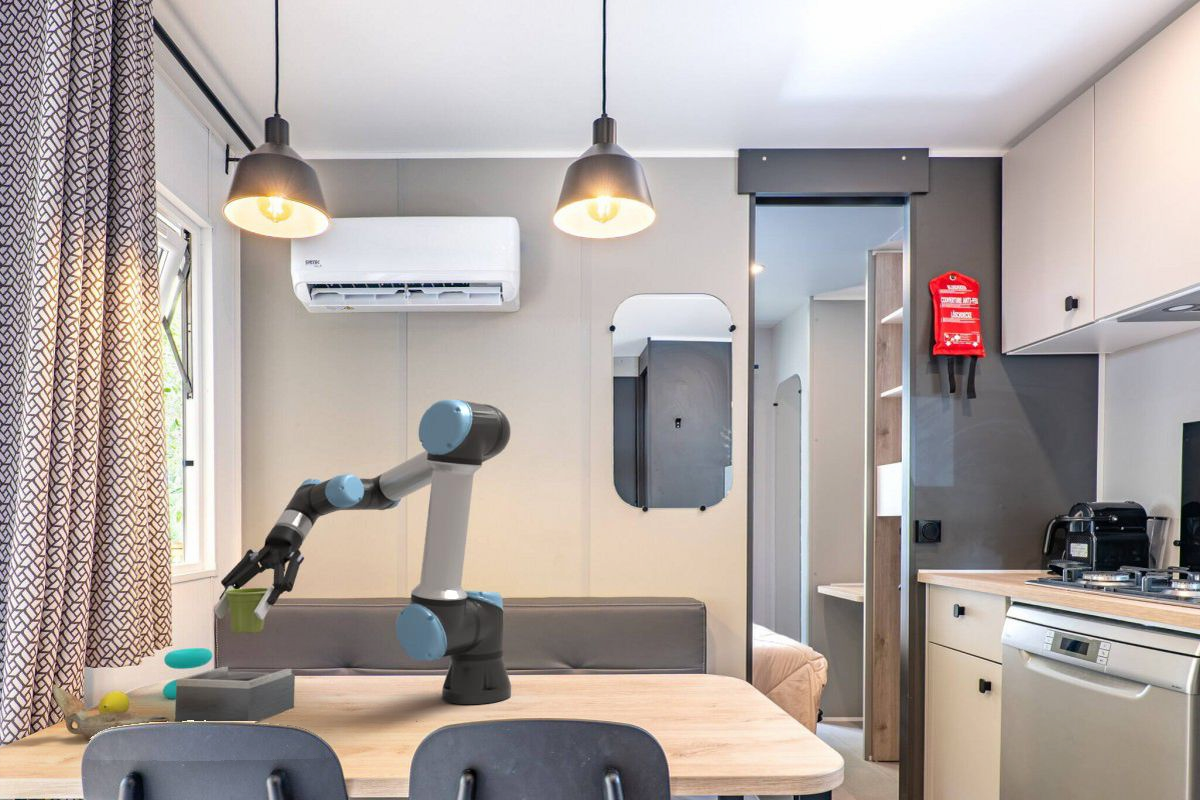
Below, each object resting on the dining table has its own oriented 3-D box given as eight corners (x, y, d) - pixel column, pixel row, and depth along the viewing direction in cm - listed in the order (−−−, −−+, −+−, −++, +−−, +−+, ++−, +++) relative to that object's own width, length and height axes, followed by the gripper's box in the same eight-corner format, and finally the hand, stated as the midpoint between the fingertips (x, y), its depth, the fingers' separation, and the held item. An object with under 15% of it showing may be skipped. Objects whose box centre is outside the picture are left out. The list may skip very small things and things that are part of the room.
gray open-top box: (293, 707, 177) (294, 667, 178) (248, 725, 162) (249, 682, 163) (213, 703, 182) (215, 665, 183) (162, 721, 167) (164, 679, 168)
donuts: (157, 651, 192) (201, 645, 199) (155, 696, 190) (199, 688, 198) (175, 656, 185) (219, 649, 193) (173, 702, 184) (218, 694, 191)
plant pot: (256, 626, 182) (257, 586, 183) (280, 630, 177) (281, 589, 178) (214, 632, 175) (216, 591, 176) (238, 637, 169) (240, 593, 170)
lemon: (108, 717, 174) (111, 690, 175) (134, 716, 174) (137, 689, 175) (89, 721, 167) (92, 692, 168) (116, 720, 167) (119, 692, 168)
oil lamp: (62, 733, 160) (65, 679, 161) (178, 728, 162) (180, 675, 163) (36, 746, 151) (40, 689, 152) (158, 740, 153) (161, 685, 154)
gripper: (336, 546, 189) (290, 628, 172) (254, 545, 195) (202, 624, 178) (323, 523, 185) (275, 605, 168) (240, 523, 191) (185, 602, 174)
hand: (237, 615), depth 173 cm, fingers closed on plant pot, 9 cm apart
